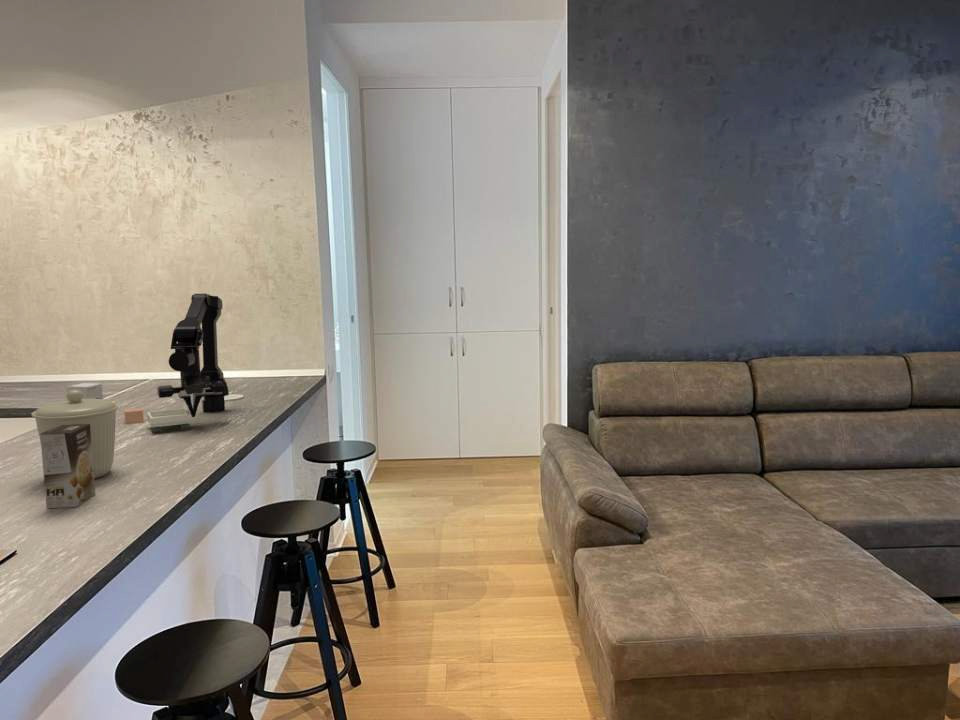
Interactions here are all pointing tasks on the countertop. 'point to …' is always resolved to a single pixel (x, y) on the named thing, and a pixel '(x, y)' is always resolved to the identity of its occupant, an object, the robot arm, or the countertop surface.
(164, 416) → the white tray
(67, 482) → the coffee box
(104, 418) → the canister
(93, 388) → the supplement box
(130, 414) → the block
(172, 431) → the track
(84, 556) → the countertop surface
